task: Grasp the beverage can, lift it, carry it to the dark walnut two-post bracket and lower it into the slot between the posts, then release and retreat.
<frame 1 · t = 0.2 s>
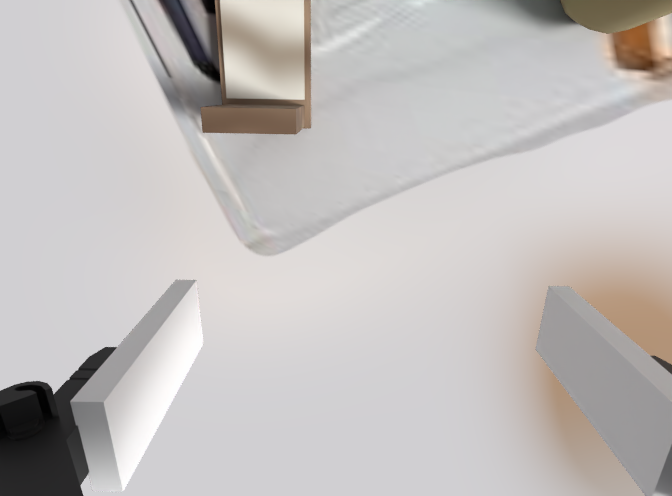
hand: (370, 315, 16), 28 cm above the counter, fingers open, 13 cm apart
post bracket: (265, 45, 38), on the counter
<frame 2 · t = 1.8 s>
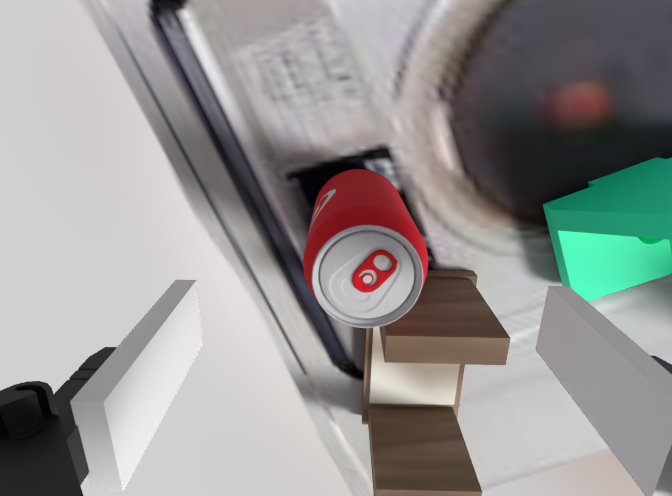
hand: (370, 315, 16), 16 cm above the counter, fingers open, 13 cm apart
beverage can: (357, 209, 31), on the counter
post bracket: (413, 348, 35), on the counter
camera mount: (627, 217, 31), on the counter
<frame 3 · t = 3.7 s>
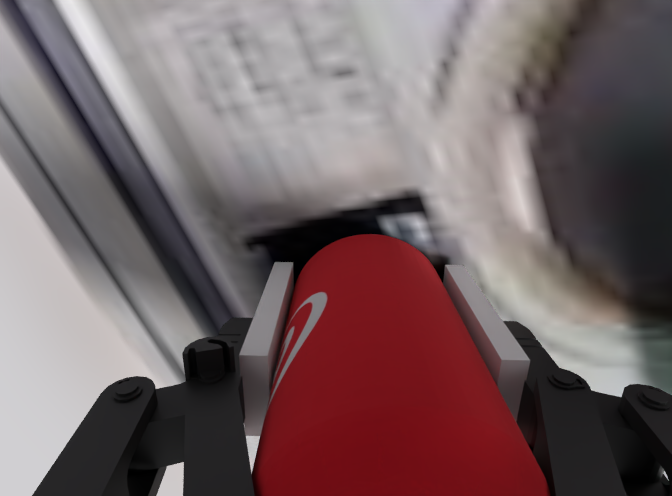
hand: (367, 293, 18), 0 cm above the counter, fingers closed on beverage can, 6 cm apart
beverage can: (366, 294, 18), on the counter, touching gripper
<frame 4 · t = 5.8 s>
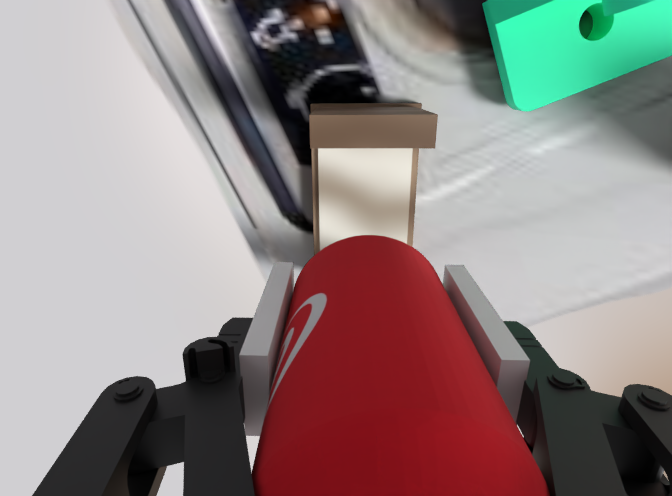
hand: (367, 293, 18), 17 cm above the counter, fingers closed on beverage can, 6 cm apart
beverage can: (366, 295, 18), point 17 cm above the counter, touching gripper
post bracket: (363, 195, 34), on the counter
camera mount: (574, 27, 30), on the counter
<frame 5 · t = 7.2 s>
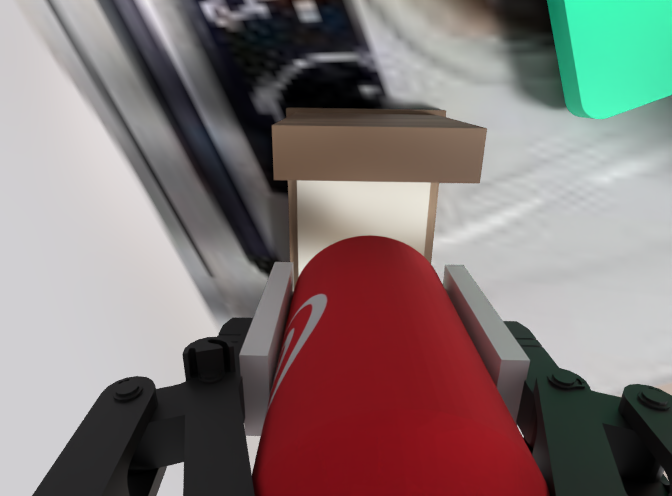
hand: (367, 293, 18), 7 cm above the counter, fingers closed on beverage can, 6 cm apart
beverage can: (366, 296, 18), point 7 cm above the counter, touching gripper
post bracket: (360, 235, 25), on the counter
camera mount: (666, 0, 21), on the counter
when the fingers open (3 cm above the counter, at t = 8.3 s): beverage can drops 2 cm, resting on post bracket.
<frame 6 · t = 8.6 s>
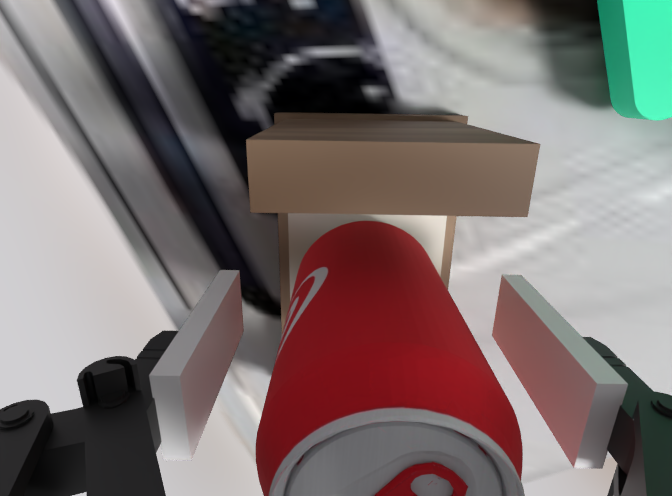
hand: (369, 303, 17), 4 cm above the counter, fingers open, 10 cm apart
beverage can: (364, 279, 20), point 1 cm above the counter, touching post bracket
post bracket: (363, 262, 21), on the counter
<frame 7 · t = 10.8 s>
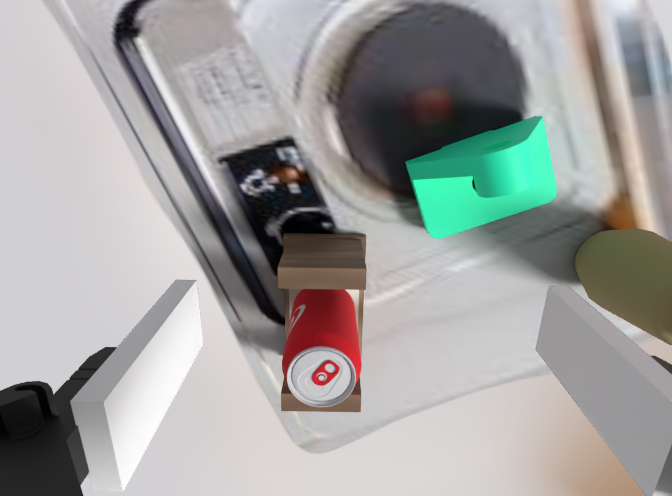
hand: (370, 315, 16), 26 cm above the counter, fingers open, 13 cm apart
beverage can: (324, 306, 43), point 1 cm above the counter, touching post bracket
post bracket: (324, 298, 44), on the counter
squeeze bottle: (601, 256, 43), on the counter
camera mount: (474, 177, 41), on the counter
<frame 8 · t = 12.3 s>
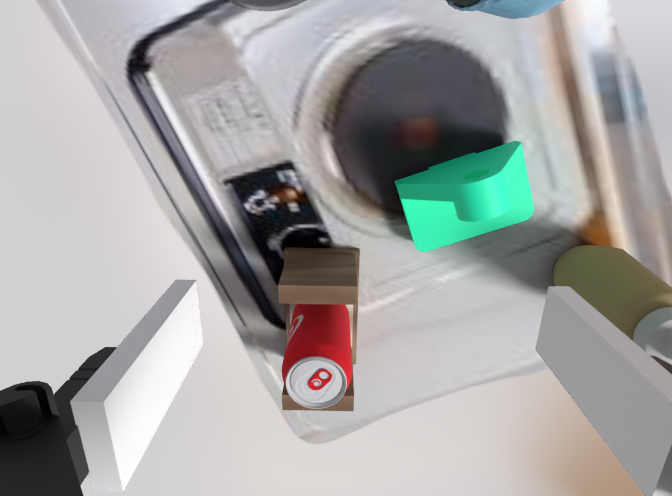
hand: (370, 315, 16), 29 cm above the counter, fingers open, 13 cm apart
beverage can: (321, 313, 47), point 1 cm above the counter, touching post bracket
post bracket: (321, 306, 48), on the counter
squeeze bottle: (578, 268, 47), on the counter
camera mount: (459, 194, 44), on the counter
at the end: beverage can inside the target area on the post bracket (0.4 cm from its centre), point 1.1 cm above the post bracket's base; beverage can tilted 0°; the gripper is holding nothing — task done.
